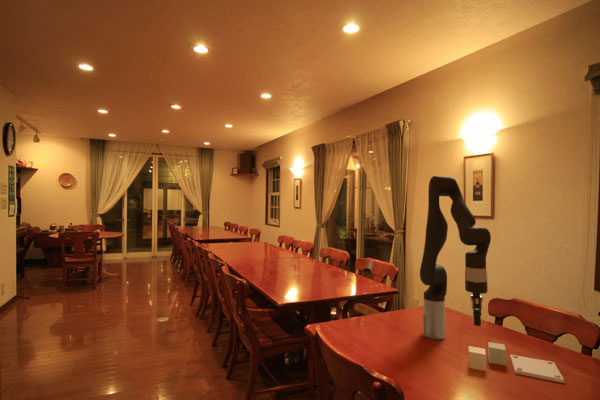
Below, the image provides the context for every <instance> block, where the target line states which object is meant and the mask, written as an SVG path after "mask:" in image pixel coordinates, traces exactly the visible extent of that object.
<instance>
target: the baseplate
mask: <svg viewBox="0 0 600 400" xmlns="http://www.w3.org/2000/svg"><path fill="white" fill-rule="evenodd" d="M509 356H510V357H509V358H510V361H511V364H512V367H513V372H514V374H517V375H521V376H525V377H526V376H527V377H532V378H536V379H542V380H547V381H552V382H557V383H562V384H565V379H564V377H563V375H562V374H561V372H560V370H559V368H558V367H557V365H556V363H555V361H551V360H543V359H538V358H532V357H527V356H523V355H522V356H521V355H516V354H510V355H509Z"/></svg>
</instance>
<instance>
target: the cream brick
mask: <svg viewBox="0 0 600 400" xmlns="http://www.w3.org/2000/svg"><path fill="white" fill-rule="evenodd" d="M486 353H487V352H486V348H482V347H478V346H477V347H476V346H470V345H469V346H468V367H469V368H470V369H474V370H480V371H484V372H487V354H486ZM469 368H468V369H469Z"/></svg>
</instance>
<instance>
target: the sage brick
mask: <svg viewBox="0 0 600 400" xmlns="http://www.w3.org/2000/svg"><path fill="white" fill-rule="evenodd" d="M487 348H488V349H487V351H488V352H487V356H488V357H487V358H488V363H489V364H495V365H500V366H504V367H505V366H507V349H506V346H505V343H503V344H502V343H496V342H491V341H488V342H487Z"/></svg>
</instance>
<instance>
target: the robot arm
mask: <svg viewBox="0 0 600 400" xmlns="http://www.w3.org/2000/svg"><path fill="white" fill-rule="evenodd" d="M427 195H428V206H427V208H428V209H427V218H426V225H425V226H426V227H425V237H424V238H425V239H424V247H423V253H422V259H421V264H420V270H419V278H420V280H421V282H422V284H423V285H424V286H428V288H427V289H426V290H425V291H424V292H423V315H422V319H423V321H422V325H423V327H422V332H423V334H422V336H423V337H426V338H429V339H430V340H431V339H433V340H444V339H446V304H445V303H446V300H445V299H446V295H447V291H448V273H447V270H446V269H445V267H444V266H443V265H441V264H437V261H438V256H439V255H440V253H441V251H442V250H443V247H444V245H445V244H446V242H447V239H448V238H447V237H448V229H449V226H448V225H449V224H448V222H447V219H446V217H445V215H444V213H443V211H442V209H441V207H440V197H449V199H451V201H452V203H451V204H450V205H451V206H450V215H451V217H452V219H453V220H454V222H455V225H456V227H457V230H458V236H459V241H460V242H461V243H462V244H463V245H465V246H475V248H474V249H473V250H470V251H467V252H466V253H465V257H464V259H465V261H464V262H465V263H464V264H465V268H464V289H465V291H466V292H467V293H472V294H471V295H470V303H471V309H472V314H473V325H474V326H476V327H481V326H482V325H481V323H482V322H481V321H482V318H481V316H482V315H483V314H482V311H483V301H484V300H483V296H481V294H483V295H484V294H487V293H489V291H488V290H489V289H488V272H487V255H488V251H489V247H490V244H491V241H492V236H491V232H490V230H489V229H488V228H487V227H483V226H475V225H476V222H477V221H476V219H475V216H474V215H473V213H472V212H471V210H470V208H469V207H468V205H467V204H466V201H465V199H464V197H463V194H462V191H461V189H460V186H459V184H458V182H457V180H456V179H455V178H454V177H451V176H446V175H445V176H443V175H434V176H432V177H431V178H430V180H429V183H428V194H427Z"/></svg>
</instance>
